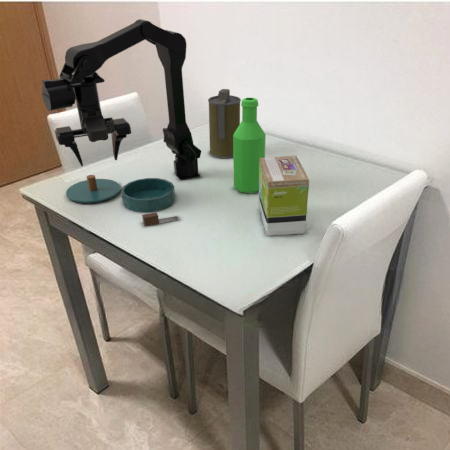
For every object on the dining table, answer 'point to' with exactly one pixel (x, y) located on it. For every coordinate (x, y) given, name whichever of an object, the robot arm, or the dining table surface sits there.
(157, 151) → the dining table surface
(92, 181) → the lid
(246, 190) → the bottle
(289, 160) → the tea box
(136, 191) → the pot
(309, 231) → the dining table surface
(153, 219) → the knife
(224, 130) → the canister
